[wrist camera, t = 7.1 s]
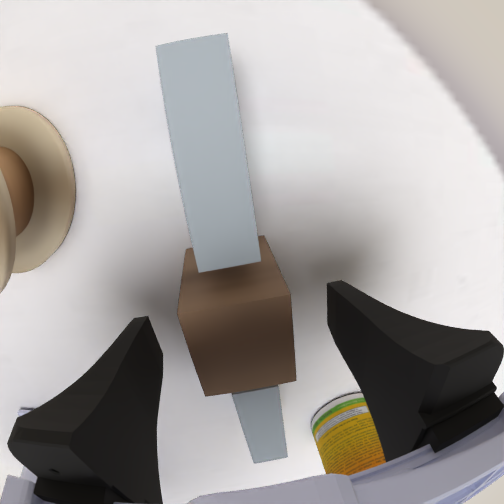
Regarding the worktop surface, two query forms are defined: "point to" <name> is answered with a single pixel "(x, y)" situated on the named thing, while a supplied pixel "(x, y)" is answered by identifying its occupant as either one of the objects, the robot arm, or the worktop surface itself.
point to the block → (238, 324)
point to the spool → (32, 191)
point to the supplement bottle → (347, 436)
